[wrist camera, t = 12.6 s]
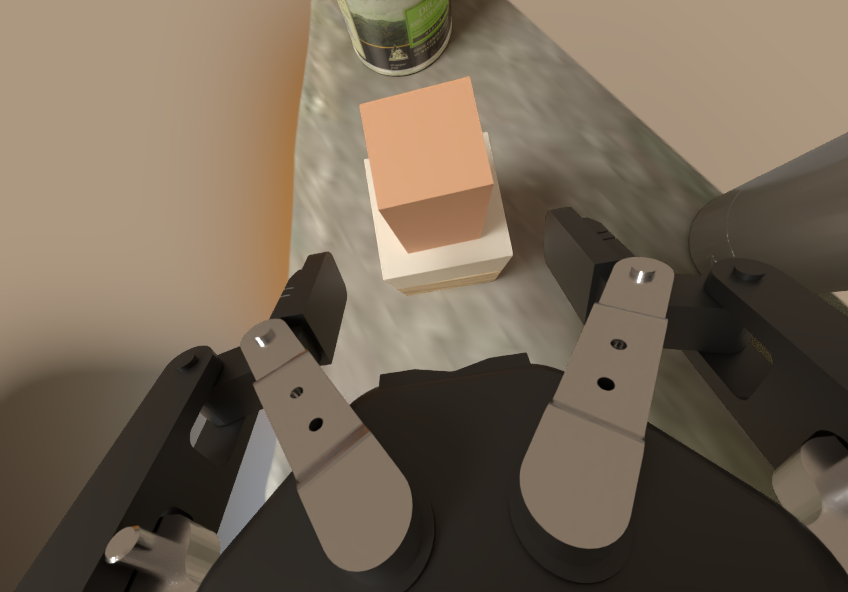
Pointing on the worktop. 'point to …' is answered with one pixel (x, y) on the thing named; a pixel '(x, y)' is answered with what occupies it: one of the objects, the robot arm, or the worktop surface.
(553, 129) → the worktop surface
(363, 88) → the worktop surface
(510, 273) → the worktop surface
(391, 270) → the cream tower block
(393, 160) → the peach block
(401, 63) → the coffee can
